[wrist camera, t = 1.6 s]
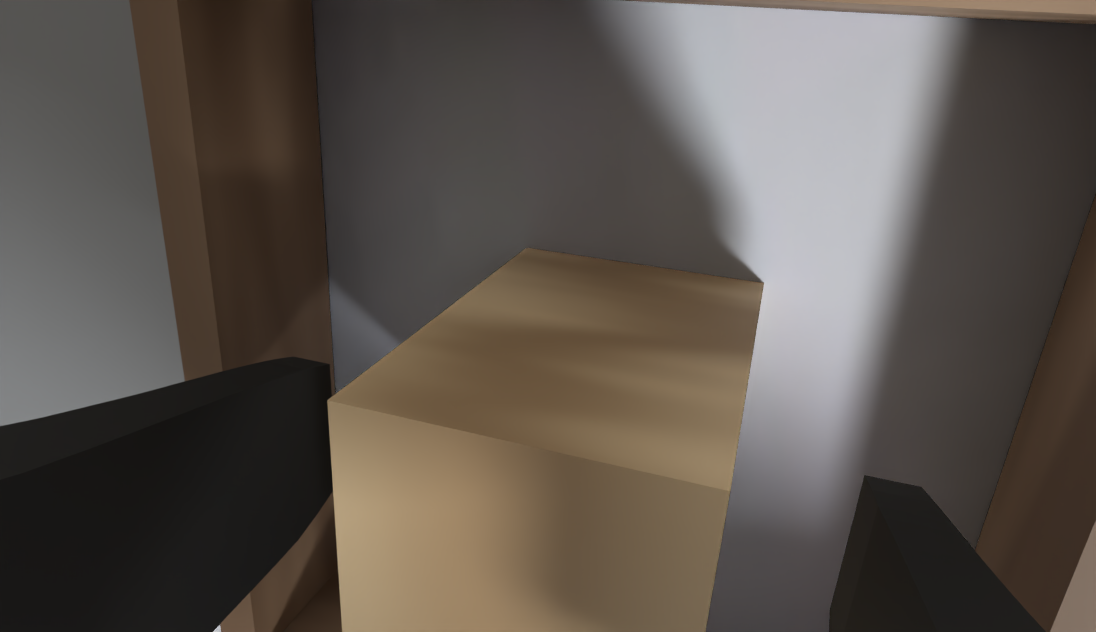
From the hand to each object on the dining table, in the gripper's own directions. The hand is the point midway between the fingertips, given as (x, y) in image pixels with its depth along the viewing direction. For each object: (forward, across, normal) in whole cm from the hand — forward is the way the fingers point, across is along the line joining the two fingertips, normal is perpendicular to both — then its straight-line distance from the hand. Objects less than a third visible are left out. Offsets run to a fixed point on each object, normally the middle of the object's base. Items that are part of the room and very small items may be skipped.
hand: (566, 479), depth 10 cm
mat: (+4, +12, 0) cm, 12 cm away
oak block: (+4, 0, 0) cm, 4 cm away
